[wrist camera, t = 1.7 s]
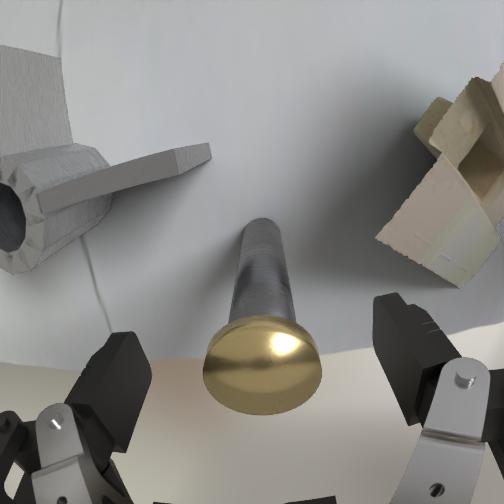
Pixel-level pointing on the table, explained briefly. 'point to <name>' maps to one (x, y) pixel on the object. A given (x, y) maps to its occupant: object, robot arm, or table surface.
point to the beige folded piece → (456, 185)
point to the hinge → (57, 165)
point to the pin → (262, 335)
